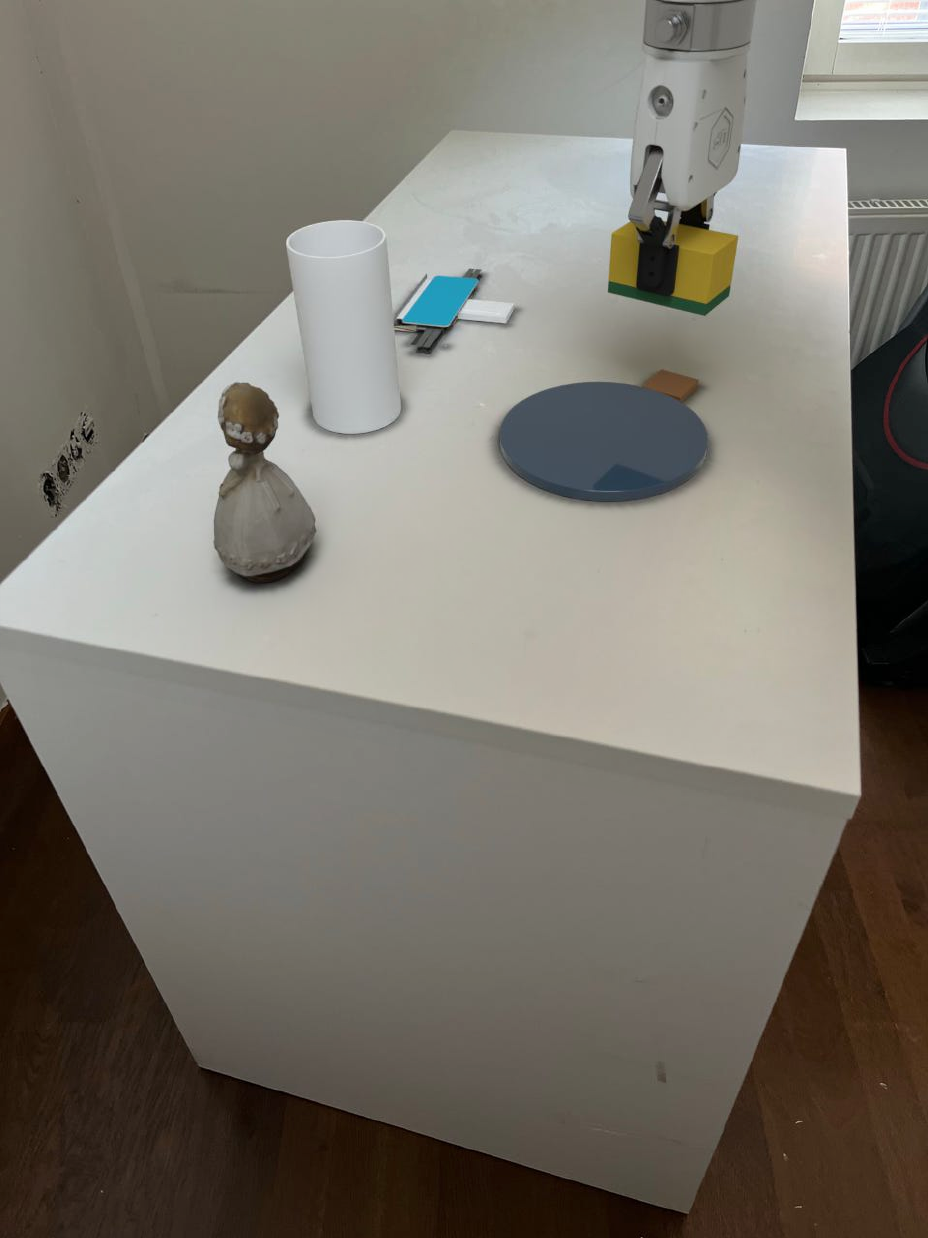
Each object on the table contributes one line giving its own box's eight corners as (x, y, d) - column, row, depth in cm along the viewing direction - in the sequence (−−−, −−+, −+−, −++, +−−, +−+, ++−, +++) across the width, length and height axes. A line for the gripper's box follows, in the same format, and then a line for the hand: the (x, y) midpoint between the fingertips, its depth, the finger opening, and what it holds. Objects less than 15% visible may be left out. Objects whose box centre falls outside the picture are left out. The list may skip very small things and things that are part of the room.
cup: (397, 433, 84) (381, 256, 74) (307, 434, 85) (277, 259, 74) (404, 388, 91) (389, 218, 80) (319, 389, 91) (294, 220, 80)
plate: (707, 398, 87) (709, 388, 87) (705, 511, 74) (707, 500, 74) (517, 384, 90) (517, 375, 90) (482, 491, 77) (482, 481, 77)
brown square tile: (679, 405, 87) (680, 397, 86) (640, 393, 88) (641, 385, 88) (698, 386, 89) (699, 379, 88) (660, 376, 91) (661, 368, 90)
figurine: (250, 528, 75) (210, 354, 64) (331, 538, 73) (303, 361, 63) (209, 593, 69) (157, 413, 59) (296, 605, 68) (259, 423, 58)
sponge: (705, 316, 75) (713, 254, 72) (607, 292, 80) (611, 232, 76) (729, 296, 78) (738, 235, 75) (633, 274, 82) (638, 215, 79)
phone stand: (485, 359, 94) (485, 344, 93) (374, 347, 97) (373, 332, 96) (531, 279, 108) (531, 265, 107) (433, 270, 111) (432, 256, 110)
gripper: (692, 54, 59) (662, 329, 71) (796, 8, 69) (754, 256, 81) (589, 44, 63) (578, 307, 75) (702, 1, 73) (675, 240, 85)
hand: (670, 278), depth 78 cm, fingers closed on sponge, 4 cm apart
